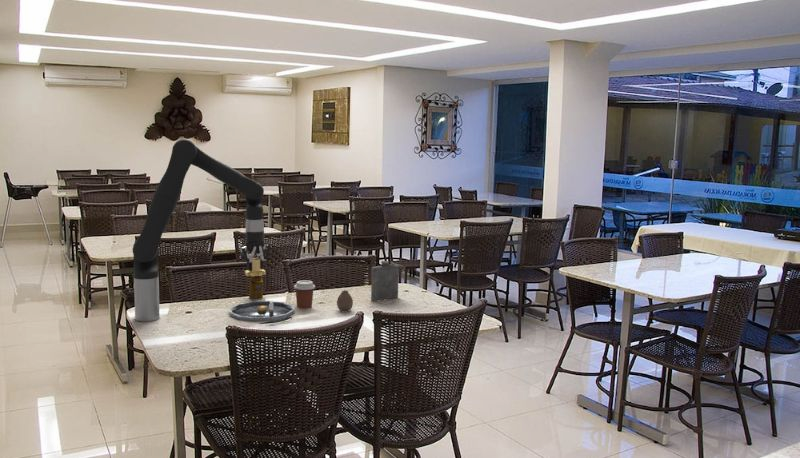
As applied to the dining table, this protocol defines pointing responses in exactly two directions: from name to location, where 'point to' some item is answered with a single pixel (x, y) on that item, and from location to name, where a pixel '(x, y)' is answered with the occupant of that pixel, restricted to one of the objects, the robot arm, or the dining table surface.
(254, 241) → the robot arm
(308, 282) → the coffee cup
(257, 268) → the planet gear
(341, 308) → the brown rounded lump
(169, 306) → the dining table surface
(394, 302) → the dining table surface
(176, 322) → the dining table surface
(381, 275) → the flask
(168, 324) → the dining table surface
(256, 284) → the condiment
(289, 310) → the tray
